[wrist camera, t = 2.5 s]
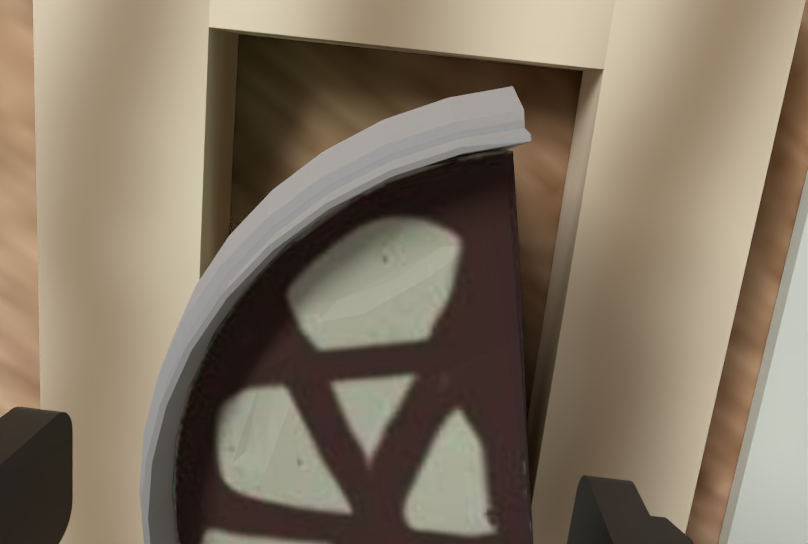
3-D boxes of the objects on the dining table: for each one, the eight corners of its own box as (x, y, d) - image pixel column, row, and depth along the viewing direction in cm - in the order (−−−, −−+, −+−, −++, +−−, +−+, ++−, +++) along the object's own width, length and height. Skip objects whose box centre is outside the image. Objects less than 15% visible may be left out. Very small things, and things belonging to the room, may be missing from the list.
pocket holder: (767, -37, 17) (817, -55, 15) (615, 680, 22) (636, 750, 20) (85, -107, 18) (30, -136, 15) (86, 613, 23) (45, 675, 20)
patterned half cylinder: (236, 106, 19) (13, 131, 9) (483, 84, 18) (529, 86, 9) (295, 540, 22) (176, 911, 12) (508, 530, 21) (564, 907, 12)
